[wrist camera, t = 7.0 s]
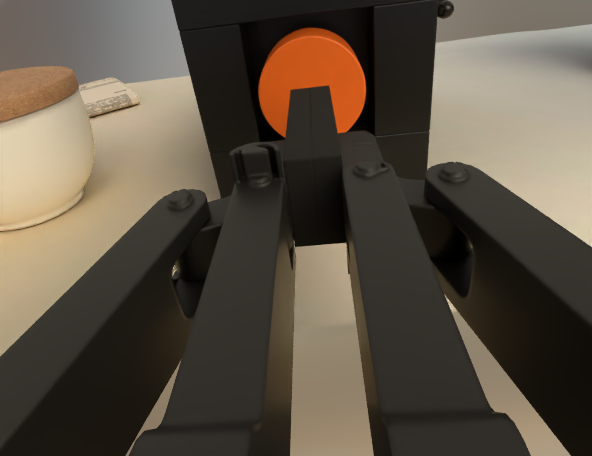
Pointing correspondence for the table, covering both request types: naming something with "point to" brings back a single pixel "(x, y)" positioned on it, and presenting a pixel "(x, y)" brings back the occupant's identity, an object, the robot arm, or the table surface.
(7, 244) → the table surface
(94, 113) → the newspaper
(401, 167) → the box
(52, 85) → the trinket box
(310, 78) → the button
